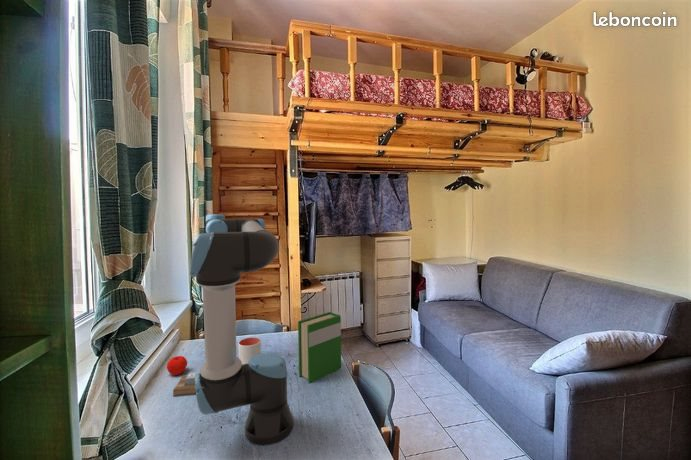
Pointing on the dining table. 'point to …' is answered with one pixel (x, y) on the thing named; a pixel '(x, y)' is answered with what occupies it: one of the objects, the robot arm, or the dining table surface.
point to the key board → (184, 388)
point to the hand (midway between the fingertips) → (218, 305)
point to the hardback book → (319, 346)
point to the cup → (248, 348)
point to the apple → (177, 365)
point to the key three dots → (191, 378)
